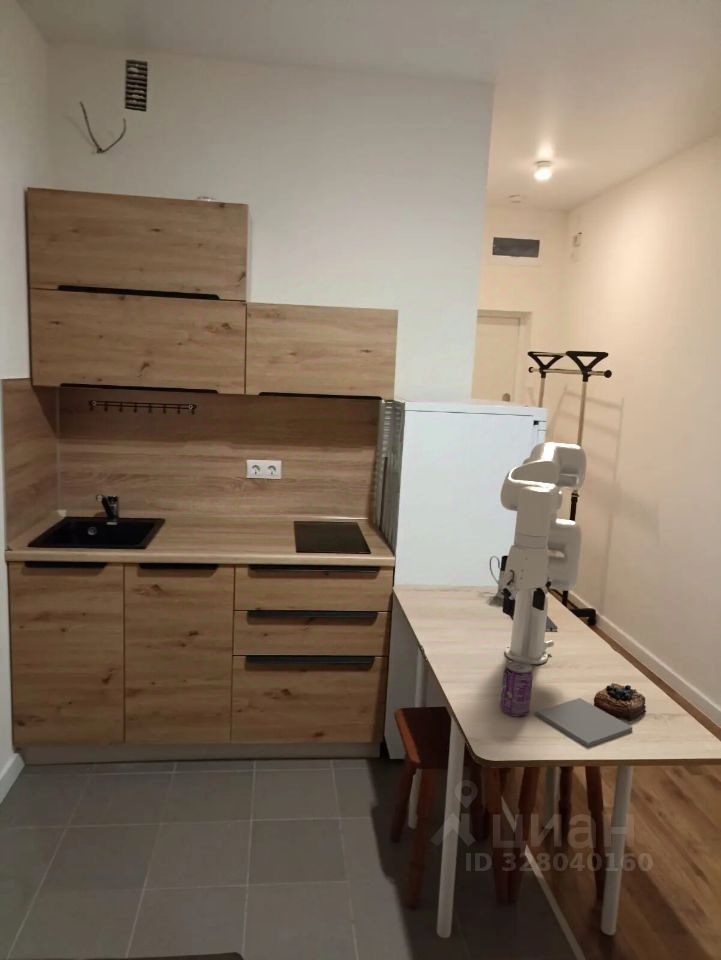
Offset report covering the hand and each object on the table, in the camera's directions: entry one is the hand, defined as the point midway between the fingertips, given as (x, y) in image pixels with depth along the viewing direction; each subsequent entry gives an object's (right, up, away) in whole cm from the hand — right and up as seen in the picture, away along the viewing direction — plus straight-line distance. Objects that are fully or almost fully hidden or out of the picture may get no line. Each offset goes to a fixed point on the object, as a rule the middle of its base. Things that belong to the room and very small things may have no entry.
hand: (523, 611), depth 159 cm
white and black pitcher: (+16, -13, +101) cm, 103 cm away
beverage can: (0, -27, +11) cm, 29 cm away
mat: (+16, -29, +7) cm, 34 cm away
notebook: (+21, -18, +76) cm, 81 cm away
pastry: (+29, -28, +16) cm, 43 cm away
